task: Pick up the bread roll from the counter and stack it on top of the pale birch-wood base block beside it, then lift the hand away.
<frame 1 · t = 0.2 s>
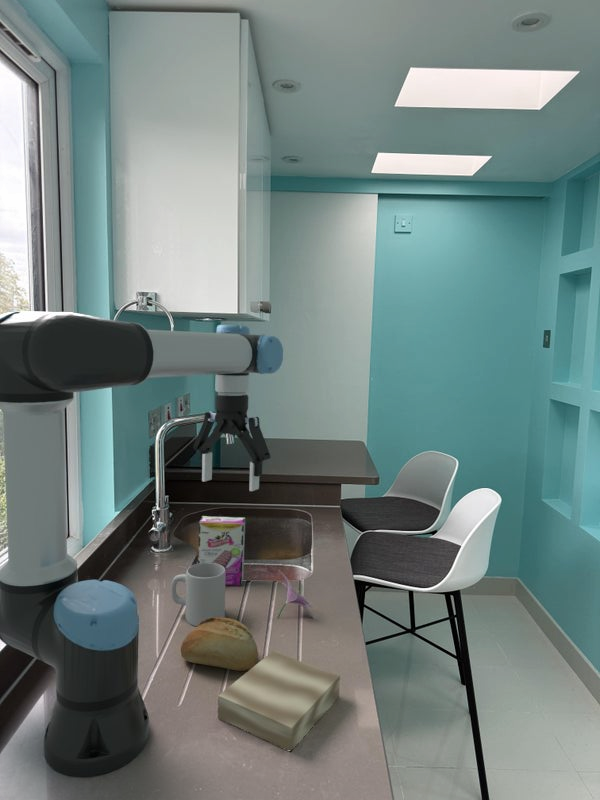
hand: (229, 485, 134), 28 cm above the worktop, tool pointing down, fingers open, 13 cm apart
wooden base: (280, 707, 98), on the worktop
mug: (197, 618, 128), on the worktop
bread roll: (219, 663, 111), on the worktop
lily: (294, 615, 130), on the worktop
candy bar box: (221, 583, 146), on the worktop
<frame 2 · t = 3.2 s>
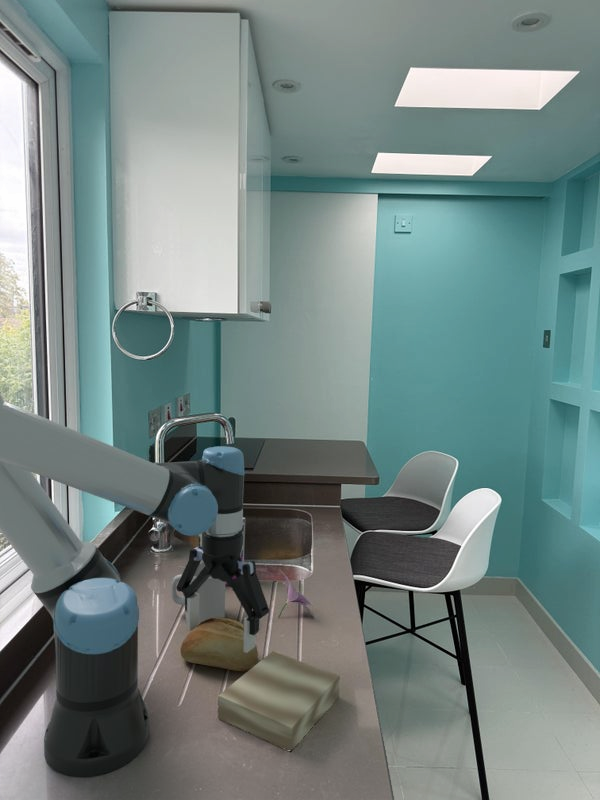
hand: (220, 638, 110), 5 cm above the worktop, tool pointing down, fingers open, 13 cm apart
nothing on the worktop moved.
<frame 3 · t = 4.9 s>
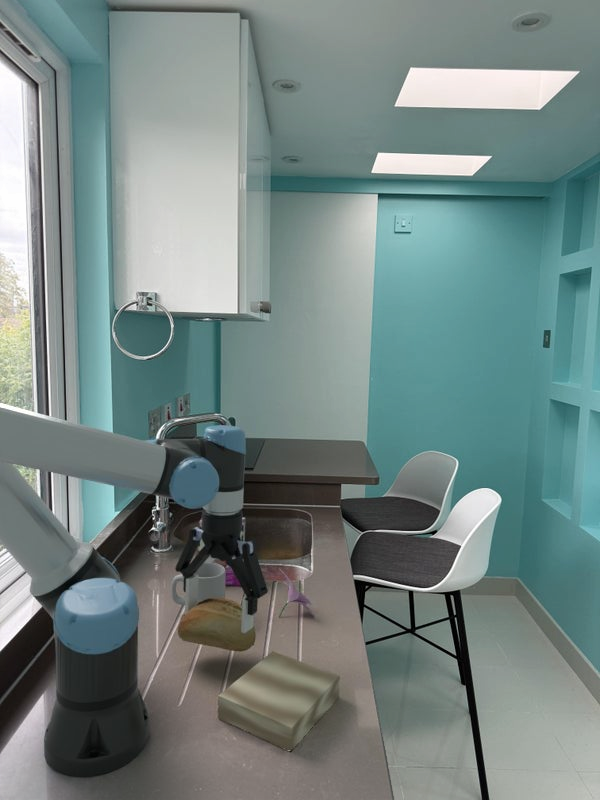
hand: (218, 619, 109), 9 cm above the worktop, tool pointing down, fingers closed on bread roll, 13 cm apart
bread roll: (216, 644, 110), point 4 cm above the worktop, touching gripper
everything else where it was.
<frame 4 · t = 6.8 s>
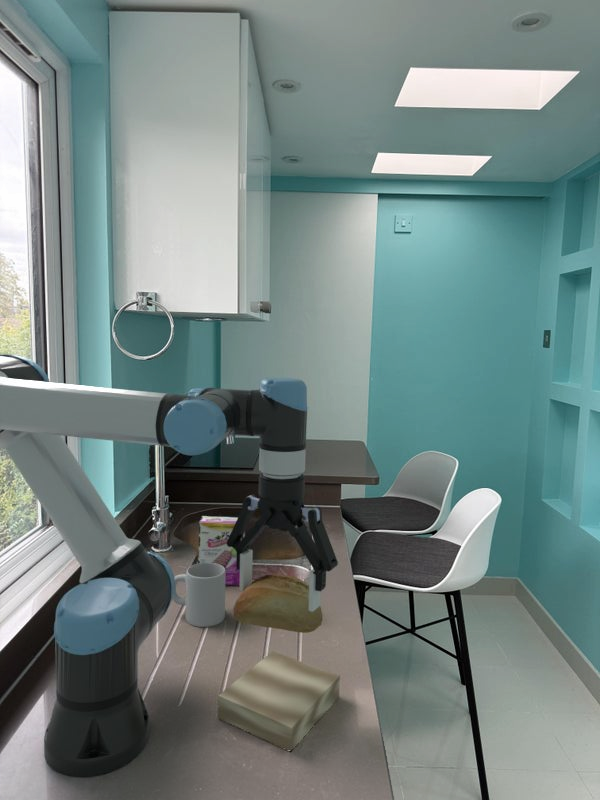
hand: (278, 598, 97), 19 cm above the worktop, tool pointing down, fingers closed on bread roll, 13 cm apart
bread roll: (277, 626, 97), point 14 cm above the worktop, touching gripper
everything else where it was.
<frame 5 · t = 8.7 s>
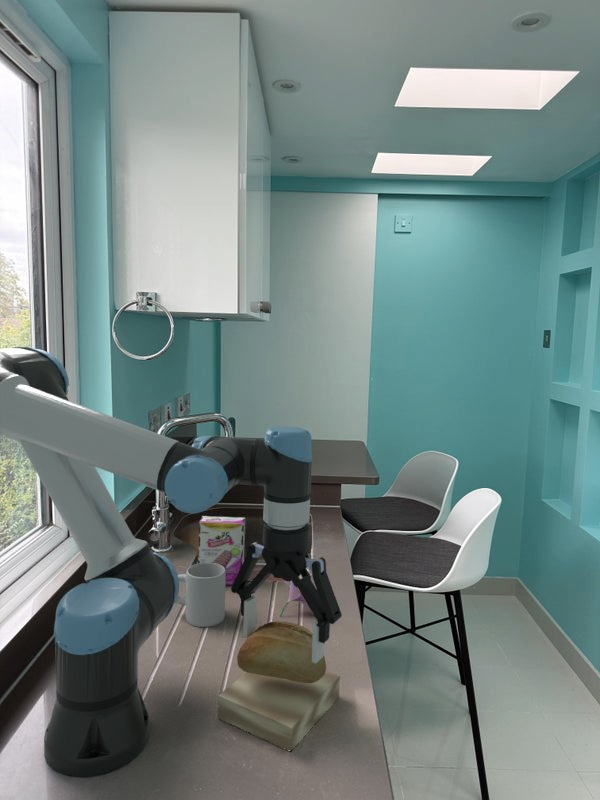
hand: (282, 646, 96), 11 cm above the worktop, tool pointing down, fingers closed on bread roll, 13 cm apart
bread roll: (281, 674, 97), point 6 cm above the worktop, touching gripper
when the fingers open (10 cm above the worktop, at t = 10.1 s): bread roll drops 1 cm, resting on wooden base.
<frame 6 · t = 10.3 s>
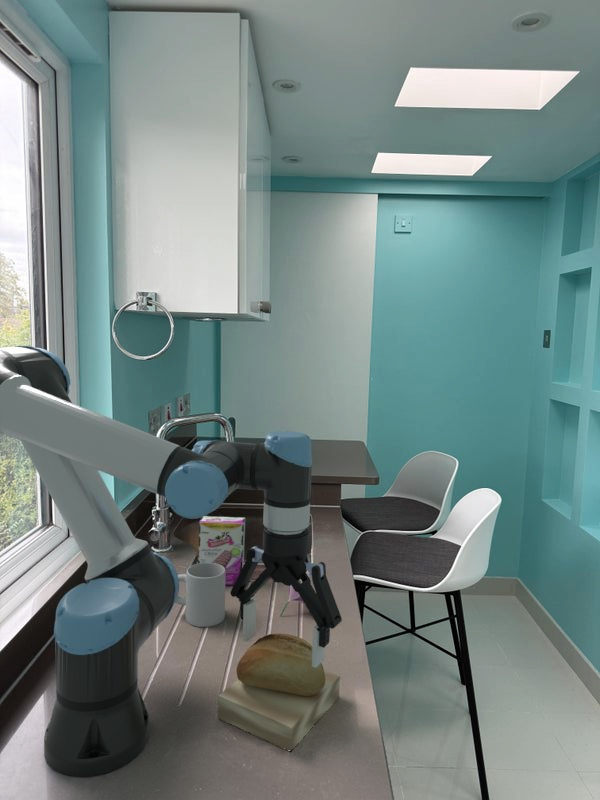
hand: (282, 650, 97), 10 cm above the worktop, tool pointing down, fingers open, 13 cm apart
bread roll: (280, 686, 97), point 4 cm above the worktop, touching wooden base
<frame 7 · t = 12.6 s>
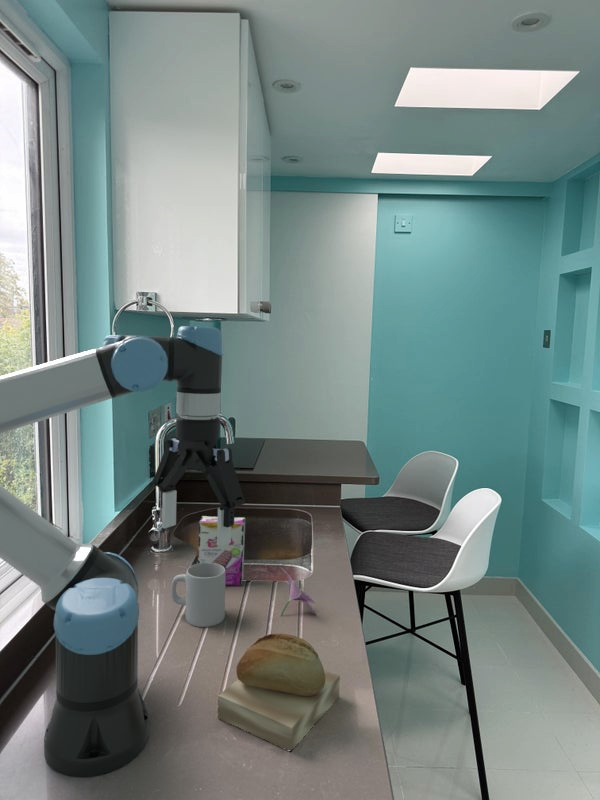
hand: (195, 535, 103), 27 cm above the worktop, tool pointing down, fingers open, 13 cm apart
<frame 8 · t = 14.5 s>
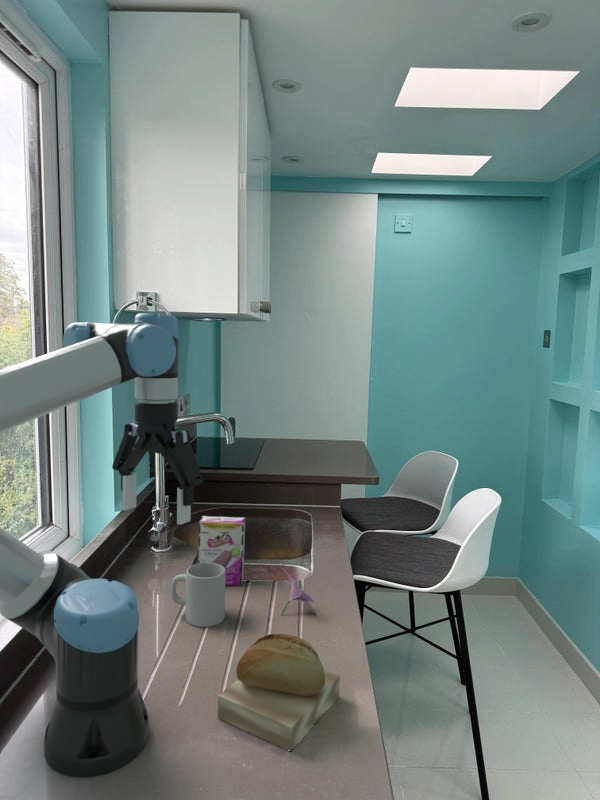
hand: (155, 515, 106), 29 cm above the worktop, tool pointing down, fingers open, 13 cm apart
at the end: bread roll inside the target area on the wooden base (0.1 cm from its centre), point 3.8 cm above the wooden base's base; bread roll tilted 0°; the gripper is holding nothing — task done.
